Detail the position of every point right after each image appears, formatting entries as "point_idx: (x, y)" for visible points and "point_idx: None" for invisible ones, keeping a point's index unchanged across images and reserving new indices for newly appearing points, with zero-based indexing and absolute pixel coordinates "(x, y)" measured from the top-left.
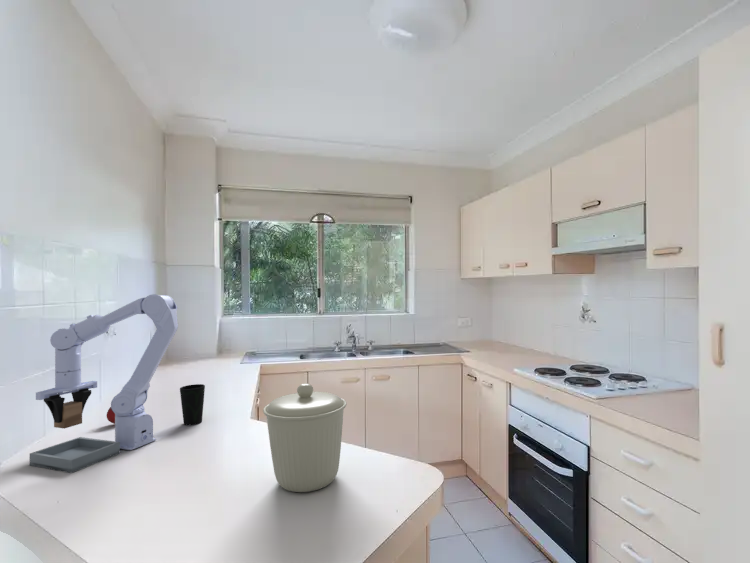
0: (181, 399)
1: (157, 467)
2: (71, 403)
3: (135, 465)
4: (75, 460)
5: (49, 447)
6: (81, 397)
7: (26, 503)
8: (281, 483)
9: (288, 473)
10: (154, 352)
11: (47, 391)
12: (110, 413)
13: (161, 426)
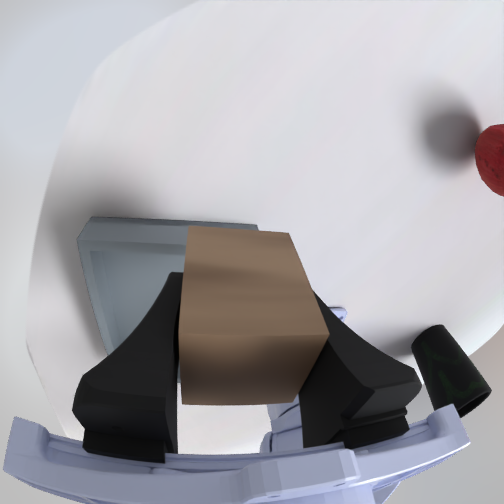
0: (446, 386)
1: (197, 424)
2: (254, 387)
3: (192, 406)
4: None
5: (137, 248)
6: (305, 422)
7: (44, 370)
8: None
9: None
10: None
11: (75, 500)
12: (495, 162)
13: (426, 298)
